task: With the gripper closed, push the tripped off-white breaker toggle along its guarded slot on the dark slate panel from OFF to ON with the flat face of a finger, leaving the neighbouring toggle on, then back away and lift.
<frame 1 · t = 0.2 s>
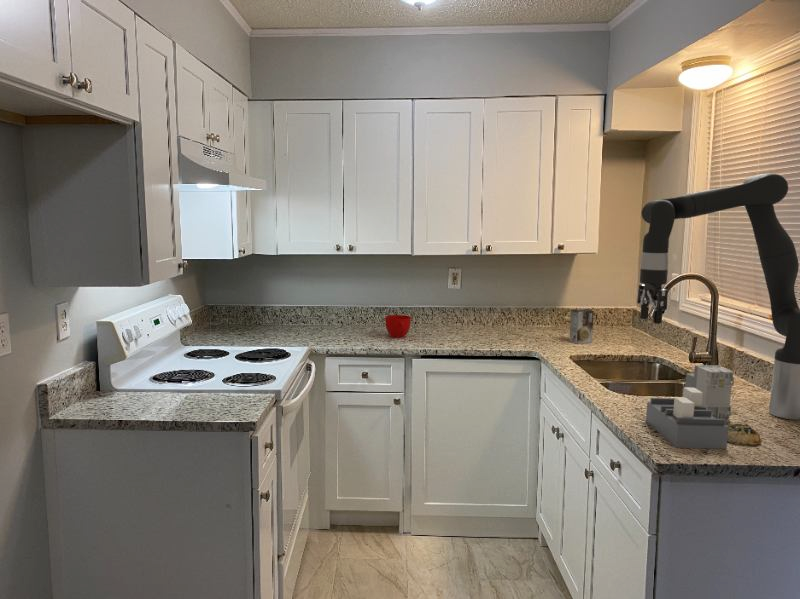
hand: (650, 321, 173), 29 cm above the worktop, tool pointing down, fingers open, 8 cm apart
breaker right: (692, 398, 162), point 9 cm above the worktop, slide at 0.0 cm
coffee box: (580, 342, 281), on the worktop
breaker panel: (683, 434, 158), on the worktop
ceramic cup: (398, 337, 285), on the worktop
circuit breaker: (704, 413, 177), on the worktop
bread roll: (737, 440, 156), on the worktop
breaker left: (683, 409, 152), point 9 cm above the worktop, slide at 7.0 cm
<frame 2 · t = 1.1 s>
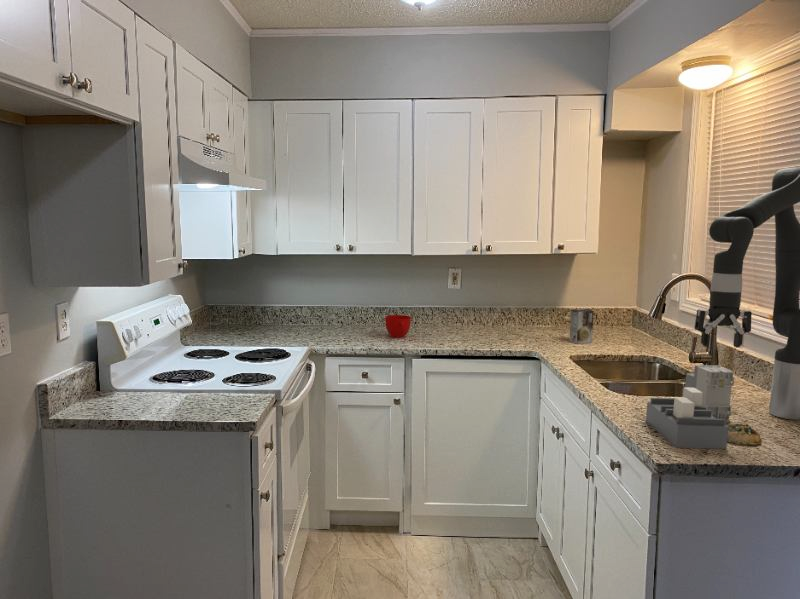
hand: (720, 346, 160), 24 cm above the worktop, tool pointing down, fingers open, 8 cm apart
nothing on the worktop moved.
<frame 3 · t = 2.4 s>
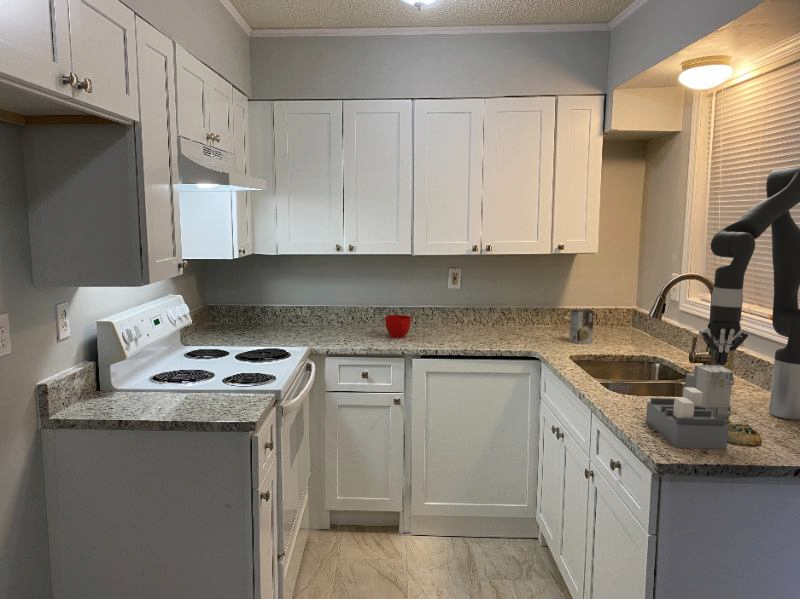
hand: (720, 364, 161), 19 cm above the worktop, tool pointing down, fingers closed
nothing on the worktop moved.
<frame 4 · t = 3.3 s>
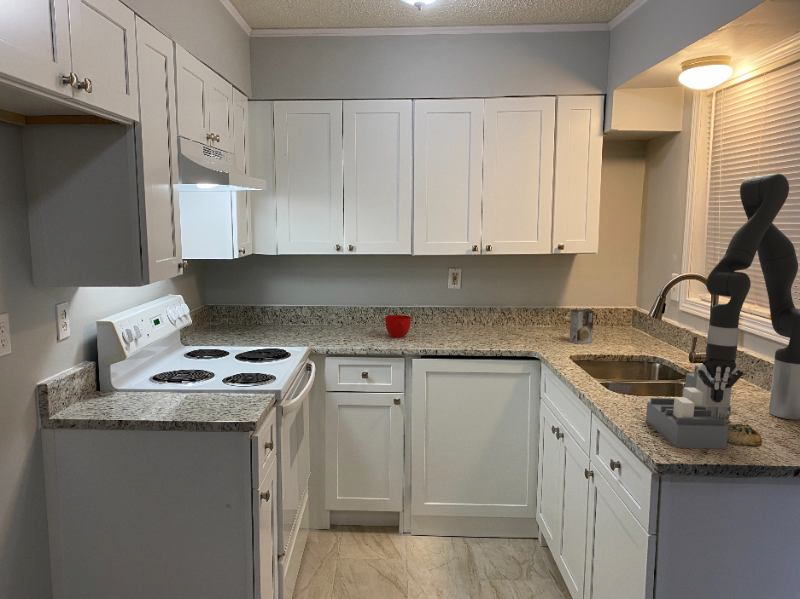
hand: (716, 401, 162), 8 cm above the worktop, tool pointing down, fingers closed
nothing on the worktop moved.
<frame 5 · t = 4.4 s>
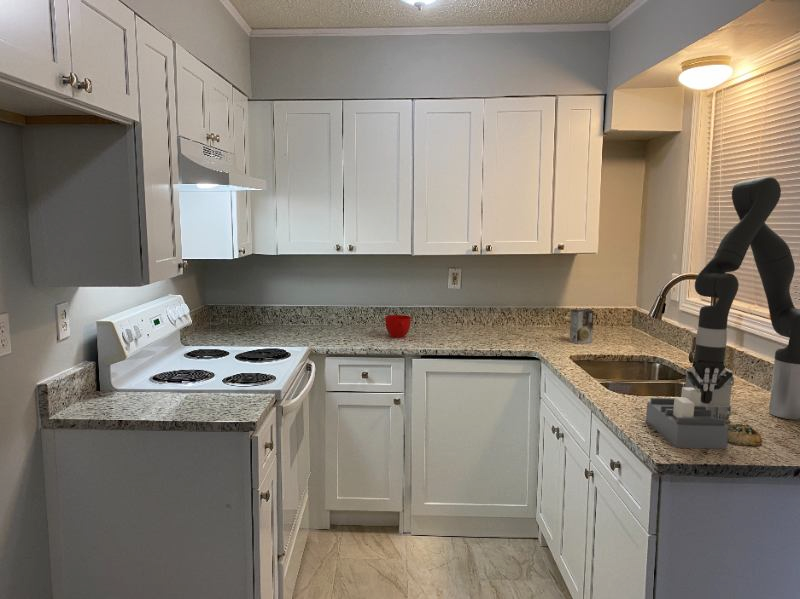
hand: (705, 402, 162), 8 cm above the worktop, tool pointing down, fingers closed
breaker right: (690, 398, 162), point 9 cm above the worktop, slide at 0.4 cm, touching gripper
everything else where it was.
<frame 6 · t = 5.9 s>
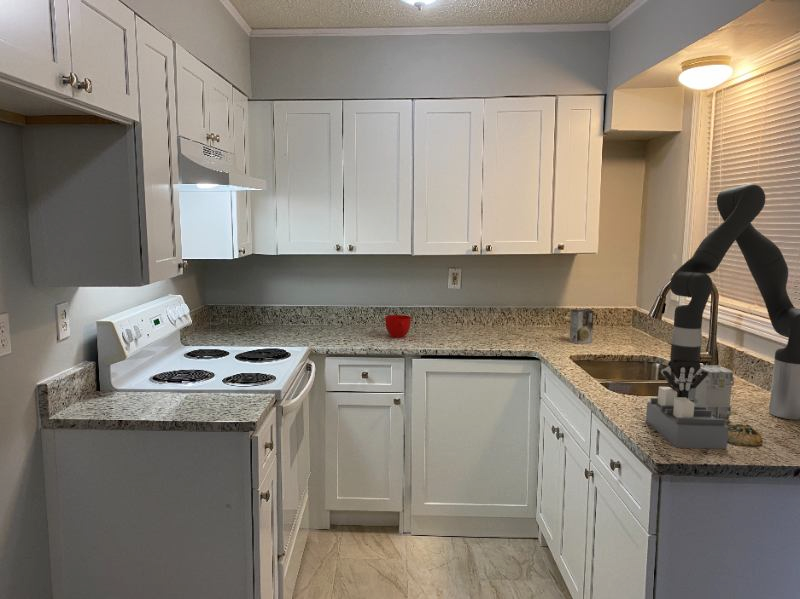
hand: (681, 402, 162), 8 cm above the worktop, tool pointing down, fingers closed
breaker right: (667, 397, 162), point 9 cm above the worktop, slide at 7.1 cm, touching gripper
everything else where it was.
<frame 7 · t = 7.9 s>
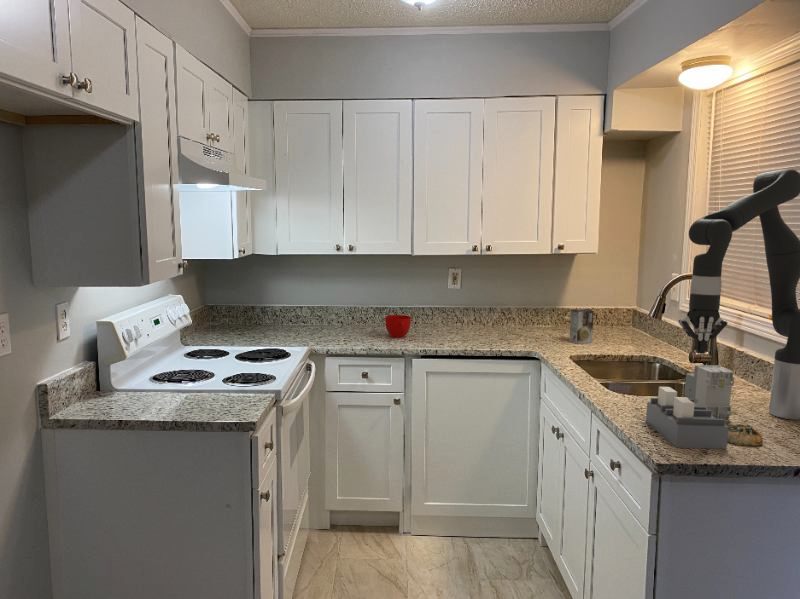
hand: (700, 353, 160), 22 cm above the worktop, tool pointing down, fingers closed
breaker right: (667, 397, 162), point 9 cm above the worktop, slide at 7.1 cm
everything else where it was.
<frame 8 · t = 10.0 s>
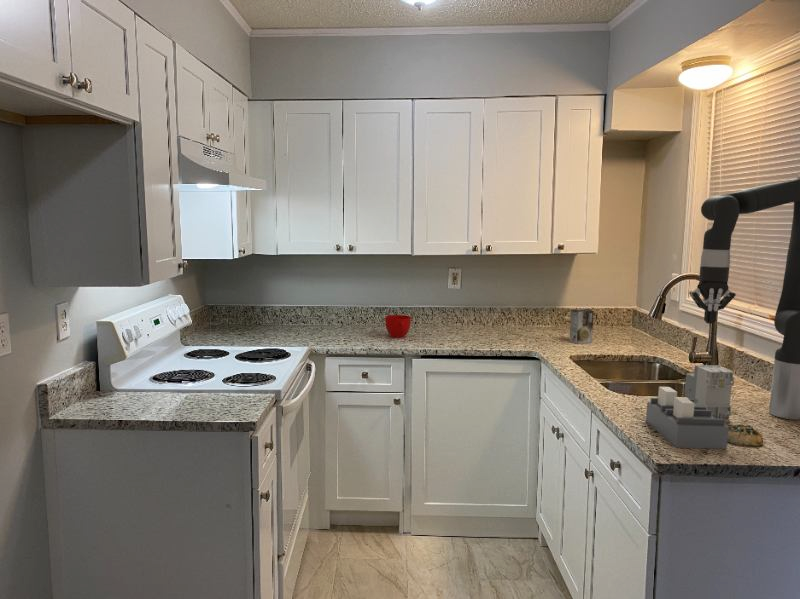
hand: (709, 323, 169), 29 cm above the worktop, tool pointing down, fingers closed
nothing on the worktop moved.
at the end: breaker right slide at 7.1 cm; breaker left slide at 7.0 cm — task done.
